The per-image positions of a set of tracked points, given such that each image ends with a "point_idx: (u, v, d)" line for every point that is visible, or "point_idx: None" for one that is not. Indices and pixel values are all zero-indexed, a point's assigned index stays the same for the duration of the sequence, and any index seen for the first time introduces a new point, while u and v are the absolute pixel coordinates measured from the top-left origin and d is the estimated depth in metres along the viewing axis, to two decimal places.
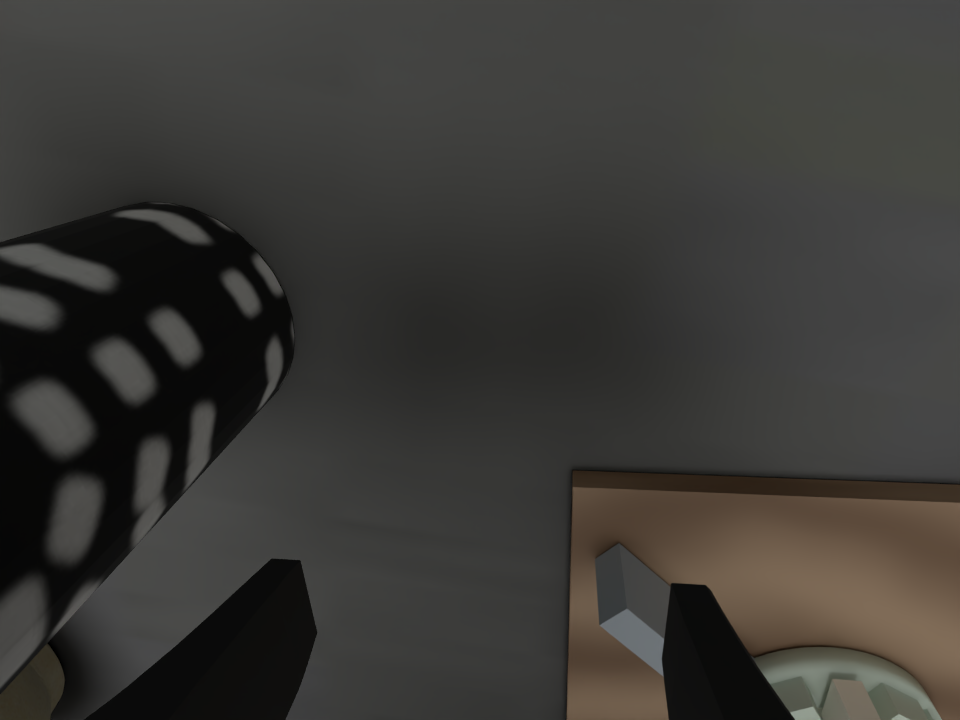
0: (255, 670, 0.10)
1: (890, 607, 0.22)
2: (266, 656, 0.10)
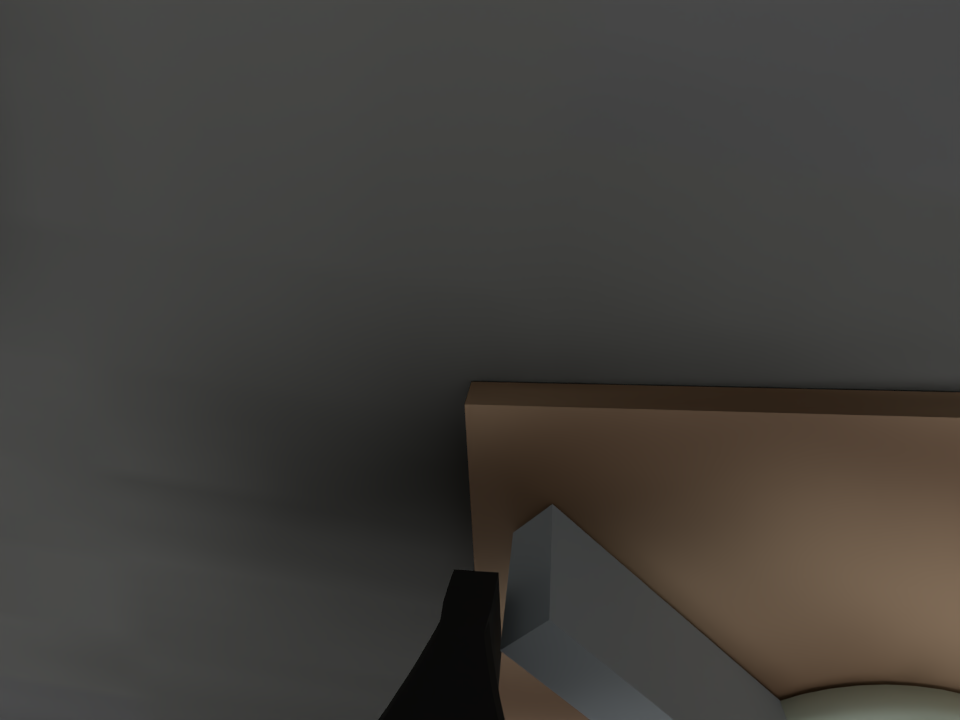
0: None
1: None
2: None
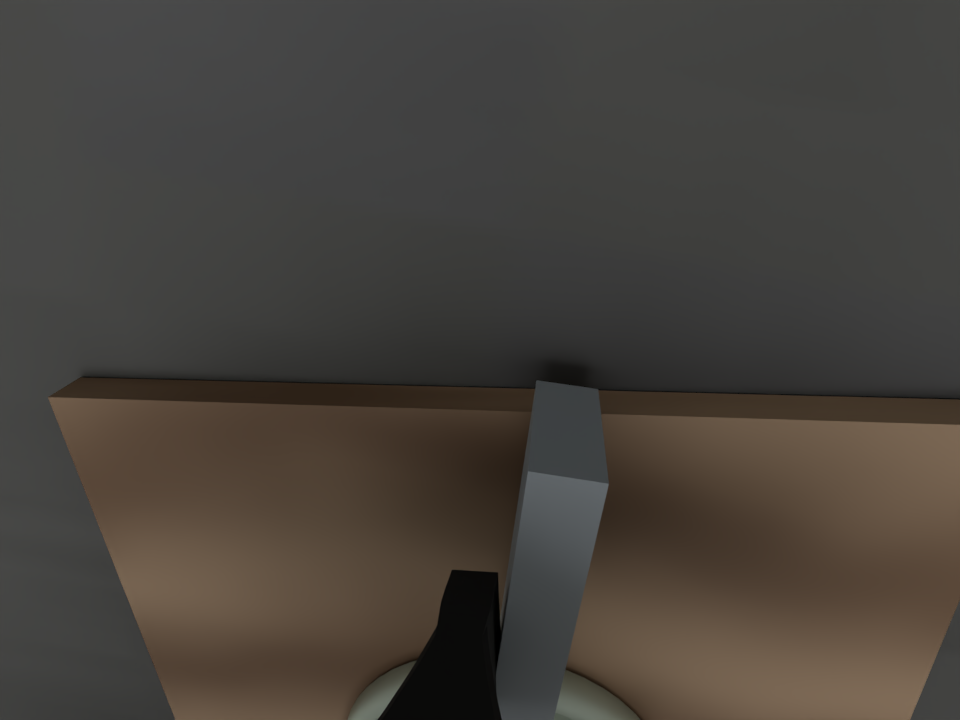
0: None
1: None
2: None
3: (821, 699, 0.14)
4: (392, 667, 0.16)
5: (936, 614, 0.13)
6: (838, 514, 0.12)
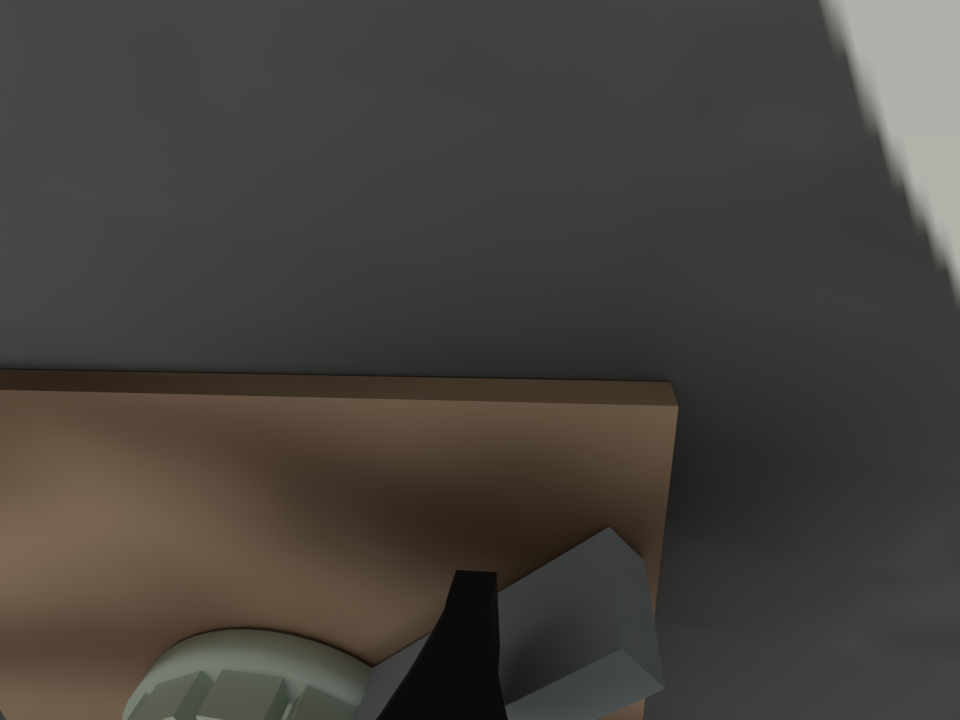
0: None
1: (303, 569, 0.14)
2: None
3: None
4: (173, 644, 0.16)
5: None
6: (530, 491, 0.13)
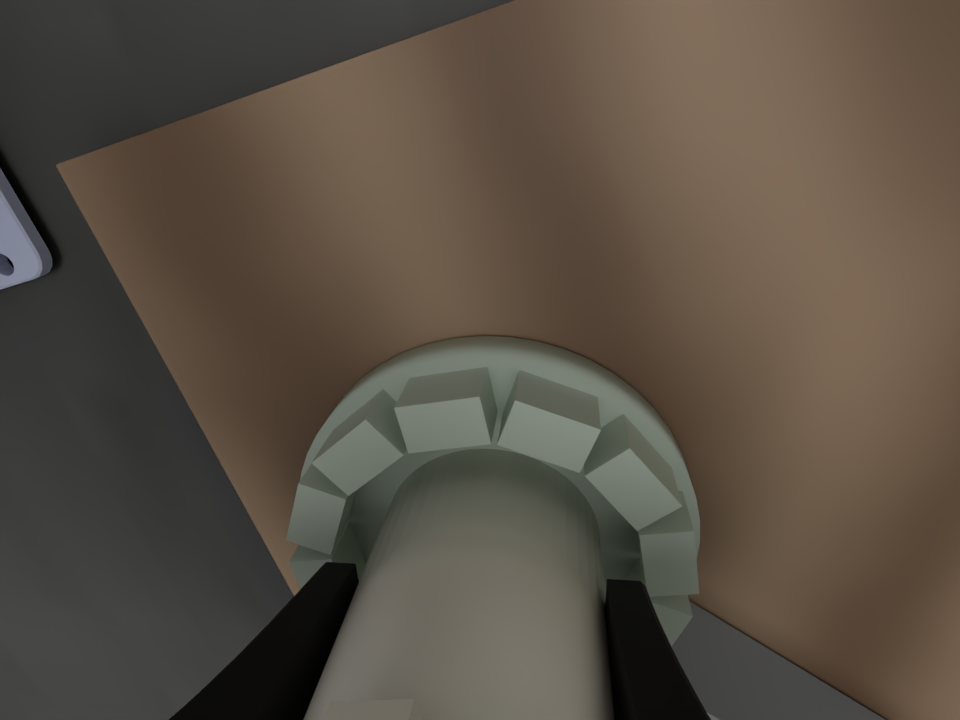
0: (318, 677, 0.10)
1: (796, 517, 0.13)
2: None
3: None
4: (619, 376, 0.12)
5: None
6: (927, 674, 0.15)
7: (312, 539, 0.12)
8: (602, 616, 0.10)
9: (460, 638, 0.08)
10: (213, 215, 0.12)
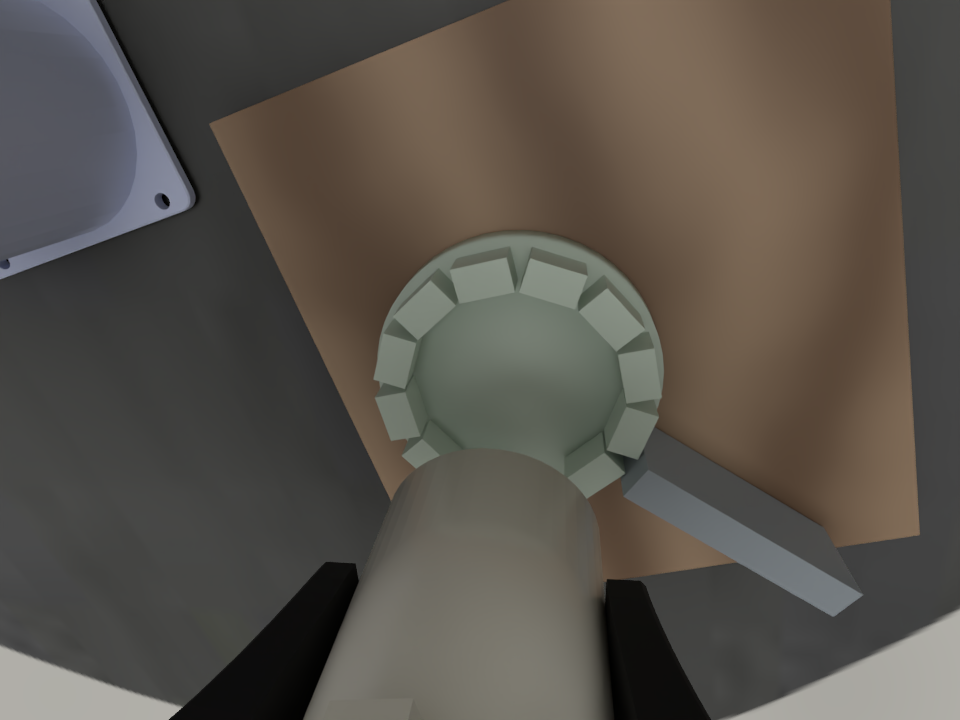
0: (317, 677, 0.10)
1: (735, 357, 0.18)
2: None
3: None
4: (602, 255, 0.18)
5: None
6: (843, 482, 0.20)
7: (392, 377, 0.18)
8: (602, 615, 0.10)
9: (460, 637, 0.08)
10: (317, 153, 0.17)
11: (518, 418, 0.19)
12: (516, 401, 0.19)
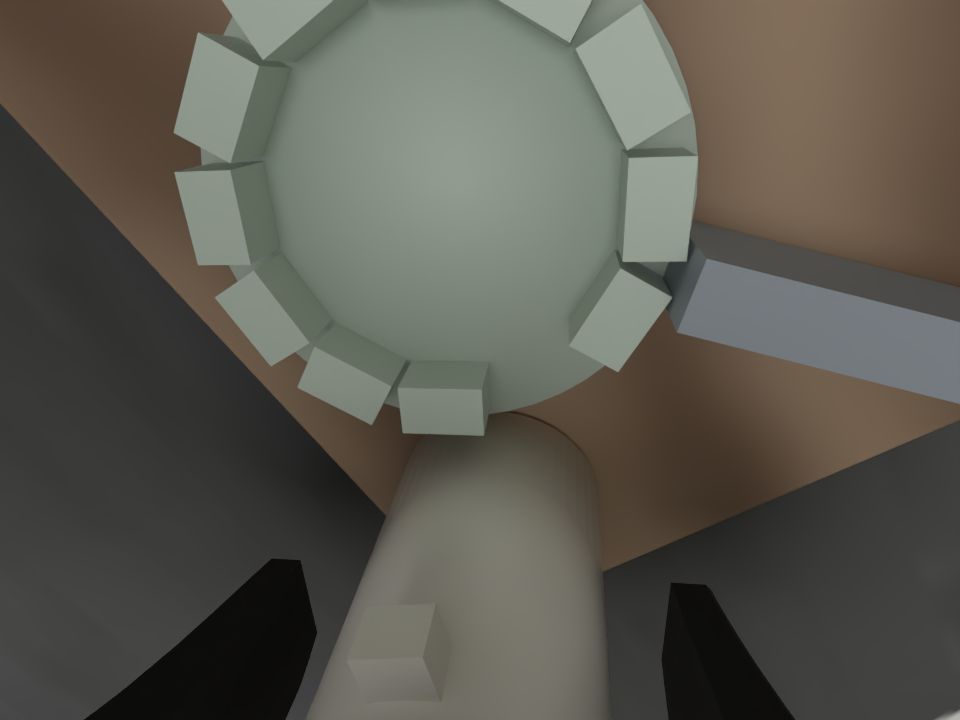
0: (254, 671, 0.10)
1: (817, 33, 0.10)
2: (266, 656, 0.10)
3: (810, 397, 0.13)
4: None
5: None
6: None
7: (222, 249, 0.10)
8: (597, 555, 0.12)
9: (473, 565, 0.09)
10: None
11: (468, 273, 0.11)
12: (453, 242, 0.11)
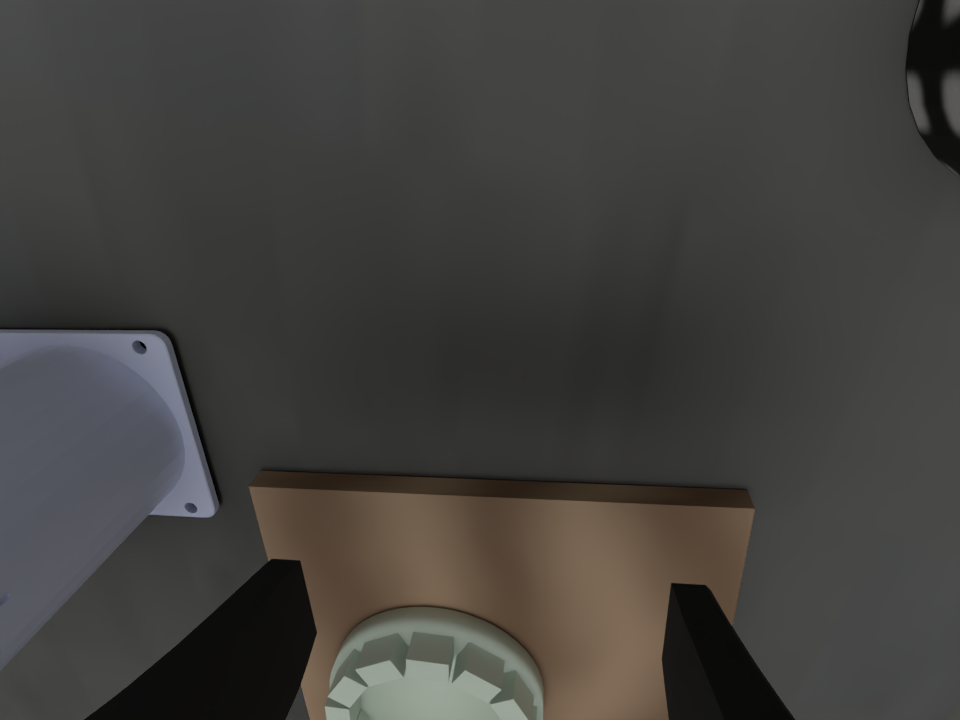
0: (255, 670, 0.10)
1: (594, 718, 0.25)
2: (266, 656, 0.10)
3: None
4: (519, 641, 0.24)
5: None
6: None
7: (342, 699, 0.23)
8: None
9: None
10: (328, 528, 0.22)
11: None
12: (430, 715, 0.25)
